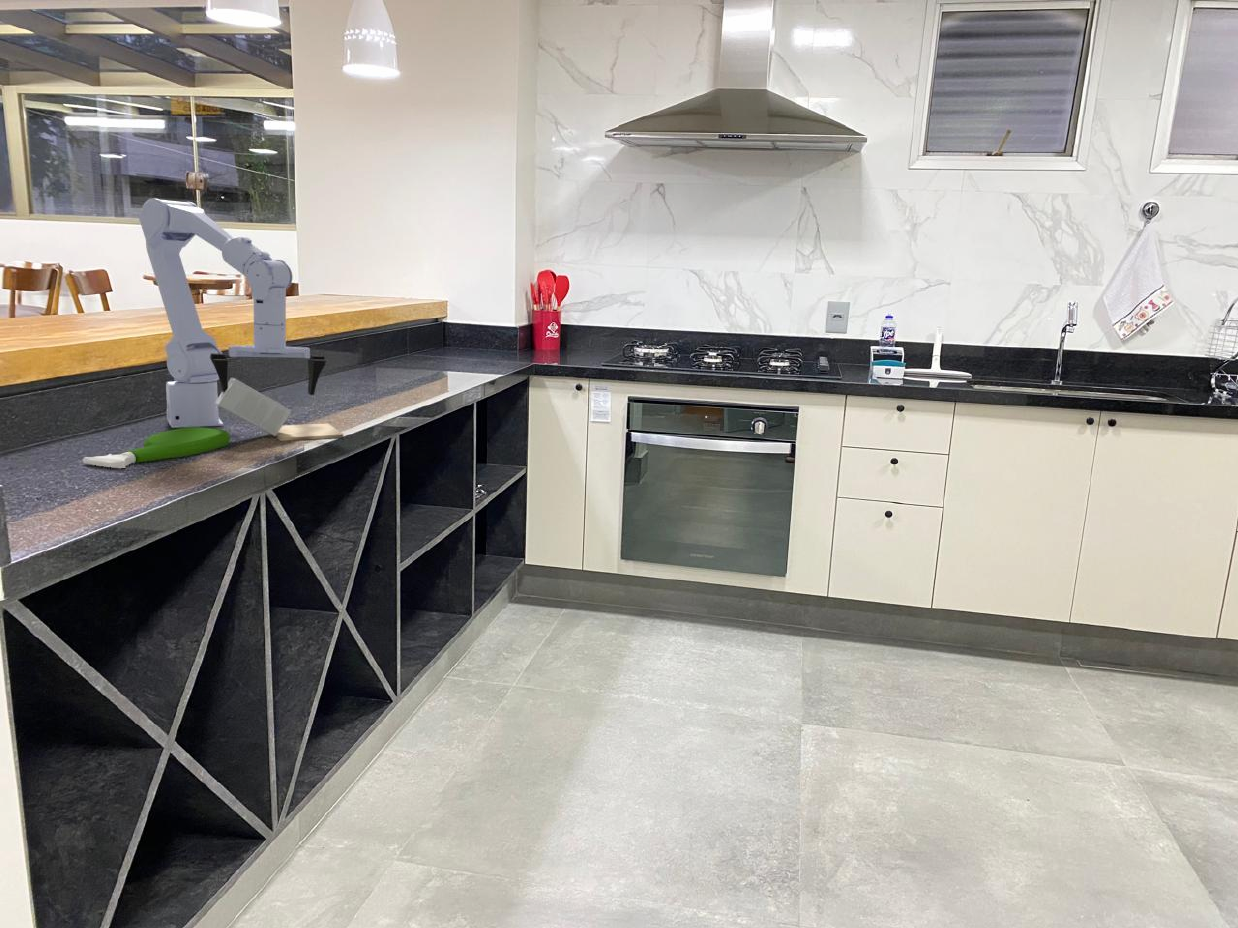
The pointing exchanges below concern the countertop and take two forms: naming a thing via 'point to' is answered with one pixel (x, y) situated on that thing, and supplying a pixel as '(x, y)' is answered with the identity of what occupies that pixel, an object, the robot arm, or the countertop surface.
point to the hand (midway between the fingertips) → (270, 394)
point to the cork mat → (307, 432)
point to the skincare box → (253, 407)
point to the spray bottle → (167, 447)
